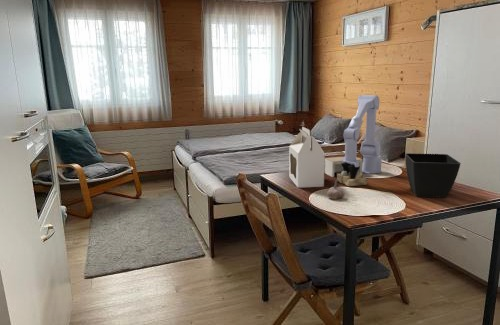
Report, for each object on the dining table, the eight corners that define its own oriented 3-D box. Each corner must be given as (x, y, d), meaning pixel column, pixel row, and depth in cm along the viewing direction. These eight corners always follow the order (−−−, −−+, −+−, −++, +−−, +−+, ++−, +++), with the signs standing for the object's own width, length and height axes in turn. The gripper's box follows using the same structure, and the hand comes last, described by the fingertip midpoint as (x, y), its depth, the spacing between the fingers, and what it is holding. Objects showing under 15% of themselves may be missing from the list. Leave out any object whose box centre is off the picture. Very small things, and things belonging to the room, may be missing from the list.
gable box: (289, 176, 208) (289, 126, 203) (312, 175, 210) (313, 125, 204) (297, 188, 187) (298, 131, 181) (324, 186, 188) (325, 130, 182)
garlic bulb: (343, 195, 173) (343, 178, 171) (344, 200, 166) (344, 183, 164) (326, 195, 174) (326, 178, 173) (326, 200, 167) (327, 182, 166)
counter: (353, 170, 220) (353, 155, 218) (362, 174, 210) (362, 159, 208) (324, 172, 215) (324, 158, 214) (332, 177, 206) (332, 161, 204)
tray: (357, 178, 199) (358, 169, 198) (368, 184, 189) (369, 174, 188) (336, 180, 197) (337, 170, 195) (346, 186, 187) (347, 176, 185)
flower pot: (457, 200, 163) (461, 162, 159) (411, 199, 166) (413, 161, 163) (444, 188, 181) (447, 153, 177) (402, 187, 184) (404, 153, 181)
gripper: (337, 149, 198) (336, 174, 201) (350, 154, 184) (349, 181, 187) (349, 148, 200) (348, 173, 203) (363, 153, 186) (362, 180, 189)
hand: (349, 177), depth 195 cm, fingers closed on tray, 5 cm apart
